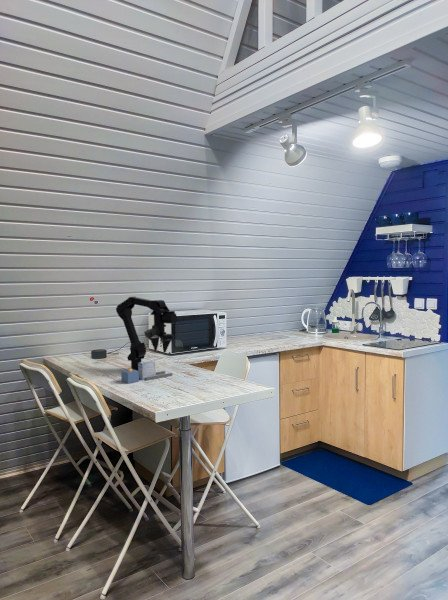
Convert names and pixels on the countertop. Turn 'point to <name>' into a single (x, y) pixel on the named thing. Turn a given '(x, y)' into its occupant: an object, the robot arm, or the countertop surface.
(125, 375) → the blue hollow block
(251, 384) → the countertop surface
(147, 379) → the rails
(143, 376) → the medicine box
